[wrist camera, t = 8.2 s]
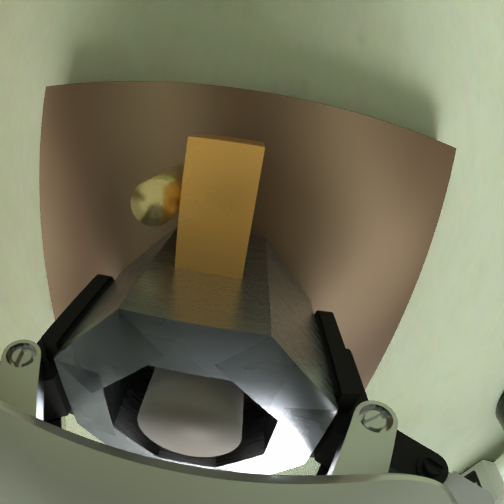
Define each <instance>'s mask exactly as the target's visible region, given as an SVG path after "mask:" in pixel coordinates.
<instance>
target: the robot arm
mask: <svg viewBox="0 0 504 504" xmlns="http://www.w3.org/2000/svg"><path fill="white" fill-rule="evenodd" d="M113 281H114V279H113V277H112V276H107V275H102V274H97V275H96V276H95V277H94V278H93V279H92V280H91V282H90V283H89V284H88V285H87V286H86V287H85V288H84V289H83V290H82V291H81V292H80V293H79V295H78V296H77V297H76V298H75V299H74V300H73V301H72V302H71V303H70V305H69V306H68V307H67V308H66V309H65V310H64V311H63V312H62V314H61V315H60V316H59V317H58V318H57V319H56V321H55V322H54V323H53V324H52V325H51V326H50V328H49V329H48V330H47V331H46V332H45V334H44V335H43V336H42V337H41V339H40V340H39V341H38V343H37V344H36V343H35V342H33V341H30V340H17V341H15V342H12V343H11V344H9V345H8V346H7V347H6V348H5V349H4V351H3V353H2V357H1V361H0V504H495V502H494V498H493V496H492V494H490V493H489V492H488V491H487V490H485V489H483V488H481V487H480V486H478V485H476V484H475V483H473V482H471V481H470V480H468V479H466V478H465V477H463V476H461V475H460V474H458V473H457V472H455V471H453V472H452V473H449V472H448V466H447V463H446V461H445V460H444V459H443V457H441V456H440V455H439V454H437V453H435V452H434V451H432V450H430V449H428V448H427V447H425V446H423V445H422V444H420V443H418V442H417V441H415V440H413V439H411V438H410V437H408V436H406V435H405V434H403V433H402V432H400V431H398V430H397V426H398V420H397V417H396V414H395V413H394V411H393V410H392V409H391V408H390V407H388V406H387V405H386V404H383V403H381V402H378V401H368V398H367V395H366V392H365V389H364V386H363V383H362V381H361V378H360V375H359V372H358V369H357V366H356V363H355V360H354V358H353V355H352V352H351V350H350V349H347V348H345V345H344V342H343V339H342V336H341V334H340V331H339V328H338V325H337V322H336V319H335V317H334V314H333V312H328V311H320V310H317V311H316V313H315V314H314V315H315V319H316V323H317V327H318V330H319V334H320V338H321V342H322V346H323V349H324V353H325V357H326V361H327V365H328V369H329V373H330V377H331V381H332V385H333V389H334V394H335V398H336V402H337V406H338V411H337V413H336V415H335V416H334V418H333V420H332V422H331V423H330V425H329V427H328V428H327V430H326V431H325V433H324V435H323V436H322V438H321V439H320V441H319V443H318V444H317V446H316V447H315V449H314V450H313V452H312V453H311V455H310V456H309V457H314V458H315V460H316V461H317V462H318V463H319V464H318V467H317V469H316V471H315V473H314V475H267V474H253V473H241V472H232V471H223V470H216V469H208V468H202V467H196V466H190V465H184V464H179V463H174V462H169V461H165V460H160V459H156V458H152V457H147V456H144V455H140V454H136V453H132V452H129V451H125V450H122V449H118V448H115V447H112V446H109V445H105V444H102V443H99V442H96V441H93V440H90V439H88V438H85V437H82V436H79V435H77V434H74V433H72V432H69V431H66V424H65V416H67V415H68V414H69V413H71V414H73V415H74V413H73V411H72V409H71V406H70V403H69V401H68V398H67V396H66V393H65V390H64V387H63V385H62V382H61V379H60V376H59V373H58V370H57V367H56V364H55V361H54V357H55V356H56V354H57V353H58V351H59V350H60V349H61V347H62V346H63V345H64V343H65V342H66V341H67V339H68V338H69V337H70V335H71V334H72V333H73V331H74V330H75V329H76V327H77V326H78V325H79V323H80V322H81V321H82V320H83V318H84V317H85V316H86V314H87V313H88V312H89V311H90V309H91V308H92V307H93V306H94V304H95V303H96V302H97V301H98V299H99V298H100V297H101V296H102V294H103V293H104V292H105V291H106V290H107V288H108V287H109V286H110V285H111V284H112V282H113Z"/></svg>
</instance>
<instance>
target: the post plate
mask: <svg viewBox="0 0 504 504" xmlns="http://www.w3.org/2000/svg"><path fill="white" fill-rule="evenodd" d="M207 134H212V135H220V136H227V137H234V138H241V139H248V140H254V141H260V142H263V143H264V146H265V151H264V157H263V163H262V168H261V174H260V180H259V185H258V191H257V197H256V202H255V208H254V214H253V220H252V225H251V231H250V236H254V237H260V238H265V239H266V240H267V241H268V242H269V244H270V245H271V247H272V248H273V249H274V251H275V252H276V253H277V255H278V256H279V257H280V259H281V260H282V261H283V263H284V264H285V266H286V267H287V268H288V270H289V271H290V272H291V274H292V275H293V277H294V278H295V279H296V281H297V282H298V283H299V285H300V286H301V288H302V289H303V290H304V292H305V293H306V294H307V296H308V297H309V299H310V301H311V305H312V308H313V312H314V314H315V313H316V311H317V310H320V311H328V312H333V314H334V317H335V319H336V322H337V325H338V328H339V331H340V334H341V336H342V339H343V342H344V345H345V348H347V349H350V350H351V352H352V355H353V358H354V360H355V363H356V366H357V369H358V372H359V375H360V378H361V381H362V383H363V386H364V389H366V387H367V385H368V383H369V382H370V380H371V378H372V376H373V374H374V373H375V371H376V369H377V367H378V365H379V363H380V361H381V359H382V357H383V355H384V354H385V352H386V350H387V348H388V346H389V344H390V342H391V339H392V337H393V335H394V333H395V331H396V329H397V327H398V325H399V323H400V320H401V318H402V316H403V314H404V311H405V309H406V307H407V304H408V302H409V300H410V297H411V295H412V293H413V290H414V288H415V285H416V283H417V280H418V278H419V275H420V272H421V270H422V267H423V264H424V262H425V259H426V256H427V253H428V250H429V247H430V244H431V241H432V238H433V235H434V232H435V229H436V226H437V223H438V219H439V216H440V213H441V209H442V206H443V202H444V198H445V195H446V191H447V187H448V183H449V179H450V175H451V170H452V166H453V162H454V157H455V152H456V148H454V147H452V146H449V145H447V144H445V143H442V142H440V141H437V140H435V139H432V138H430V137H427V136H425V135H422V134H419V133H417V132H414V131H411V130H409V129H406V128H403V127H400V126H397V125H394V124H391V123H388V122H385V121H382V120H379V119H376V118H373V117H369V116H366V115H362V114H359V113H356V112H352V111H348V110H345V109H341V108H337V107H333V106H329V105H325V104H321V103H316V102H312V101H308V100H303V99H298V98H293V97H288V96H283V95H278V94H272V93H266V92H260V91H253V90H247V89H239V88H232V87H223V86H214V85H203V84H191V83H176V82H149V81H117V82H92V83H77V84H65V85H56V86H47V87H46V91H45V98H44V106H43V116H42V127H41V141H40V212H41V227H42V239H43V249H44V257H45V265H46V272H47V279H48V285H49V291H50V296H51V302H52V307H53V312H54V316H55V321H56V319H57V318H58V317H59V316H60V315H61V314H62V312H63V311H64V310H65V309H66V308H67V307H68V306H69V305H70V303H71V302H72V301H73V300H74V299H75V298H76V297H77V296H78V295H79V293H80V292H81V291H82V290H83V289H84V288H85V287H86V286H87V285H88V284H89V283H90V282H91V280H92V279H93V278H94V277H95V276H96V275H97V274H102V275H107V276H112V277H113V279H114V280H115V279H116V278H117V276H118V275H119V274H120V273H121V272H122V270H123V269H124V268H126V267H127V266H128V265H129V264H130V263H132V262H133V261H134V260H135V259H137V258H138V257H139V256H140V255H141V254H143V253H144V252H145V251H146V250H148V249H149V248H150V247H152V246H153V245H154V244H155V243H157V242H158V241H159V240H160V239H162V238H163V237H164V236H165V235H167V234H168V233H169V232H171V231H172V230H173V229H175V228H176V227H177V226H178V219H179V210H178V211H177V212H176V213H175V215H174V216H173V217H172V218H171V219H170V220H169V221H168V222H167V223H166V224H164V225H162V226H159V227H150V226H146V225H144V224H142V223H141V222H139V221H138V220H137V219H136V217H135V216H134V214H133V212H132V209H131V196H132V193H133V191H134V190H135V188H136V187H137V186H138V185H139V184H141V183H143V182H145V181H147V180H149V179H150V178H152V177H154V176H156V175H158V174H160V173H162V172H164V171H166V170H168V169H170V168H172V167H175V166H179V165H182V166H184V163H185V155H186V148H187V140H188V136H196V135H207ZM243 404H244V391H243V390H241V389H240V388H239V387H238V386H237V385H236V384H235V383H234V382H233V381H230V380H223V379H217V378H211V377H205V376H199V375H193V374H188V373H182V372H177V371H172V370H168V369H163V368H158V367H155V369H154V372H153V375H152V377H151V380H150V383H149V385H148V388H147V391H146V394H145V396H144V399H143V402H142V405H141V408H140V410H139V413H138V417H137V421H138V425H139V427H140V429H141V430H142V432H143V433H144V434H145V435H146V436H147V437H148V438H149V439H150V440H152V441H153V442H154V443H156V444H158V445H159V446H161V447H163V448H165V449H168V450H170V451H173V452H176V453H179V454H183V455H188V456H195V457H214V456H220V455H224V454H227V453H229V452H231V451H233V450H234V449H236V448H237V447H238V446H239V444H240V442H241V439H242V422H243Z"/></svg>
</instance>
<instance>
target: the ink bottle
mask: <svg viewBox="0 0 504 504" xmlns="http://www.w3.org/2000/svg"><path fill="white" fill-rule="evenodd" d="M496 417H497V419H498V421H499V423H500V425H501V426H502V428H503V430H504V395H503V397H502V399H501V400H500V402H499V404H498V406H497V409H496Z"/></svg>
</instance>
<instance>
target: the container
mask: <svg viewBox="0 0 504 504" xmlns="http://www.w3.org/2000/svg"><path fill="white" fill-rule="evenodd" d="M461 476H463V477H465V478H466V479H468V480H470V481H471V482H473V483H475V484H476V485H478V486H480V487H481V488H483V489H485V490H487V491H488V492H489V493H490V494H492V496H493V498H494V502H495V504H502V503H504V482H503V479H502V477H501V475H500V473H499V470H498V468H497V466H496V464H495V463H494V462H490V461H486V460H481V461H479V462H478V463H477V464H475V465H474V466H472V467H471V468H470V469H468V470H467V471H465V472H464V473H462V474H461Z"/></svg>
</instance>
